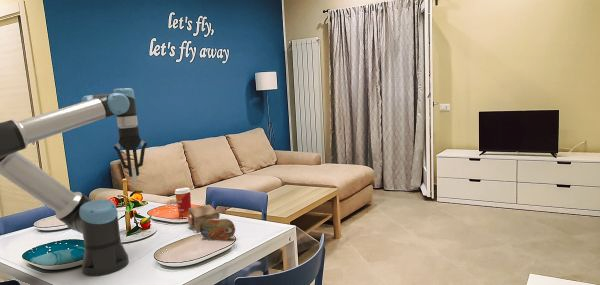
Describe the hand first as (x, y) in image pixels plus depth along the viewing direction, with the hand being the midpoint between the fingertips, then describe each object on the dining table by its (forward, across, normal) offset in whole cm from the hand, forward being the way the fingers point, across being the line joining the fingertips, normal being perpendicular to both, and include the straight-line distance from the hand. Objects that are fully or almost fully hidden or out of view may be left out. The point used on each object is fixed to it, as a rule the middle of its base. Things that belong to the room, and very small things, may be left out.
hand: (135, 184), depth 168 cm
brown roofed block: (+23, -27, -4) cm, 36 cm away
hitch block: (+24, -27, -4) cm, 37 cm away
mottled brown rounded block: (+25, -28, +17) cm, 41 cm away
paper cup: (+25, -22, -23) cm, 40 cm away
